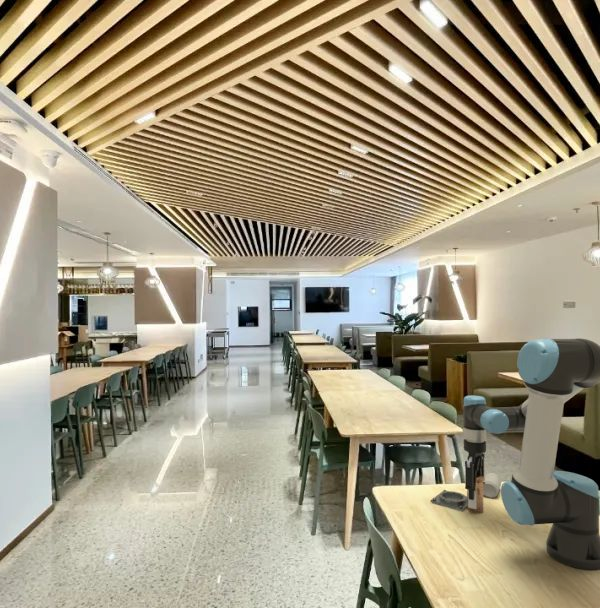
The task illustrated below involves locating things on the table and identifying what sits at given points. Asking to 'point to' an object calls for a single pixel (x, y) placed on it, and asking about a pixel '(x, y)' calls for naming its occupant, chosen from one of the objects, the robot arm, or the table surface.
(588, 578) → the table surface
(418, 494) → the table surface
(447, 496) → the flange
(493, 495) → the beverage can
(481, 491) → the copper cylinder
